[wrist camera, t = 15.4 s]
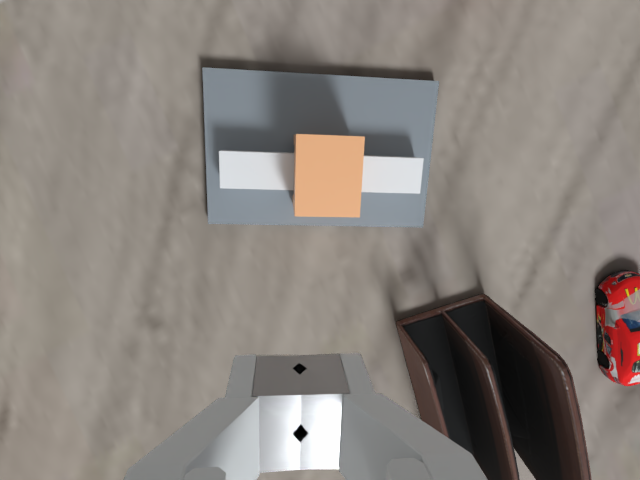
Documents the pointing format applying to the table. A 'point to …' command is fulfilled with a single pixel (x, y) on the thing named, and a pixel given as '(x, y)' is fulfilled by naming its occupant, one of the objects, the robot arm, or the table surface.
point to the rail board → (316, 119)
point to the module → (327, 175)
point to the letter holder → (495, 390)
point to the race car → (619, 327)
